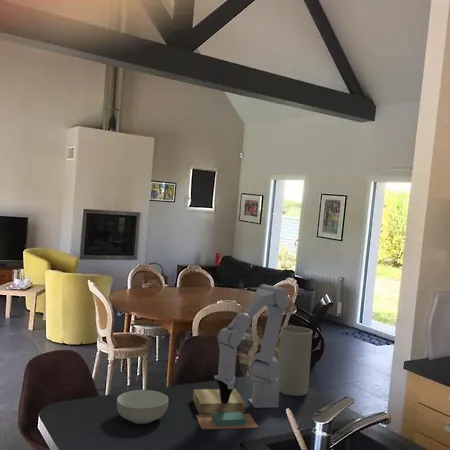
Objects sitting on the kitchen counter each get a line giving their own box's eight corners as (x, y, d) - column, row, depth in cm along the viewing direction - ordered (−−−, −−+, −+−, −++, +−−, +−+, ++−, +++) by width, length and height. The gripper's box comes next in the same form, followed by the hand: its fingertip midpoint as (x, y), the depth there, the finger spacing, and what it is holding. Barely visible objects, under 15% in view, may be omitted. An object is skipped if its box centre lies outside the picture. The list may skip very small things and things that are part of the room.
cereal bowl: (147, 405, 185) (148, 386, 185) (177, 421, 173) (178, 400, 173) (105, 416, 173) (107, 395, 173) (134, 434, 161) (136, 411, 161)
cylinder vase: (290, 384, 220) (294, 325, 219) (314, 393, 211) (318, 331, 210) (270, 389, 211) (274, 327, 211) (294, 399, 202) (298, 334, 201)
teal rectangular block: (246, 419, 173) (245, 425, 173) (240, 412, 179) (240, 417, 179) (216, 420, 171) (216, 426, 171) (212, 413, 177) (212, 418, 177)
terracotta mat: (249, 414, 183) (249, 413, 183) (258, 427, 173) (258, 426, 173) (195, 415, 179) (195, 415, 179) (201, 429, 168) (201, 428, 168)
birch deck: (234, 399, 197) (235, 389, 197) (244, 414, 184) (245, 402, 183) (192, 400, 193) (193, 389, 193) (199, 415, 180) (200, 403, 180)
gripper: (211, 357, 186) (208, 395, 186) (220, 370, 172) (217, 411, 172) (230, 357, 187) (228, 395, 188) (241, 370, 173) (238, 410, 174)
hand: (224, 402), depth 180 cm, fingers closed
